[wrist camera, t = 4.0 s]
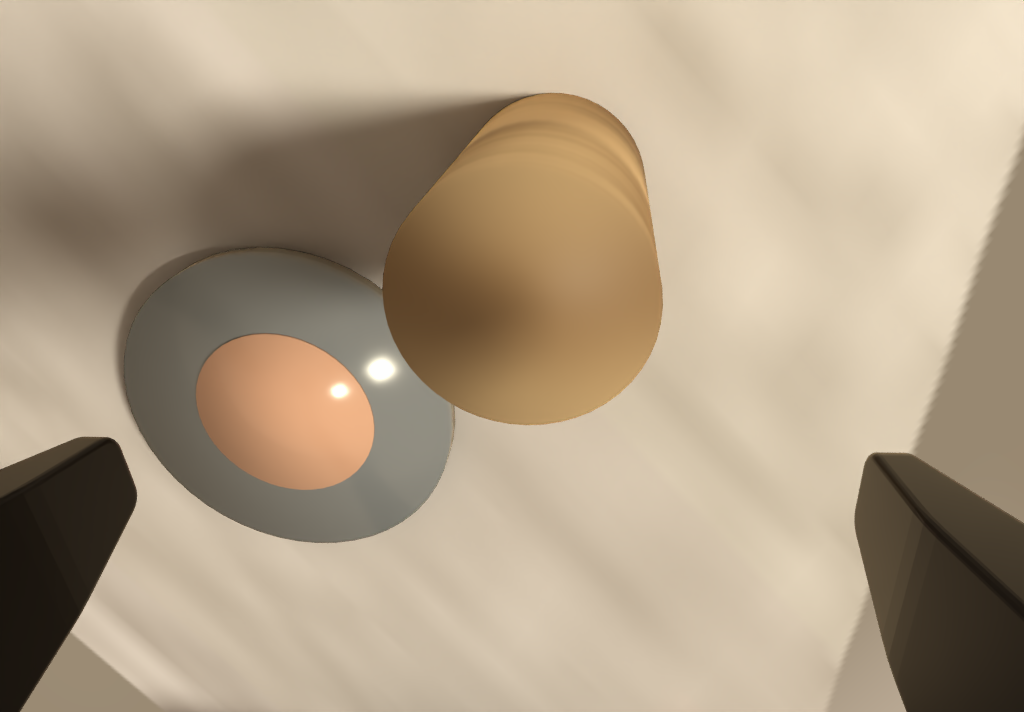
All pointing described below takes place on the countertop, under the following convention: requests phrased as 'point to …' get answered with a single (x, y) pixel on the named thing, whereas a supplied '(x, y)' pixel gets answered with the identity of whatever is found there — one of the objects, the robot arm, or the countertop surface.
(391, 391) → the coaster
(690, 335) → the countertop surface
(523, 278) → the oak canister
